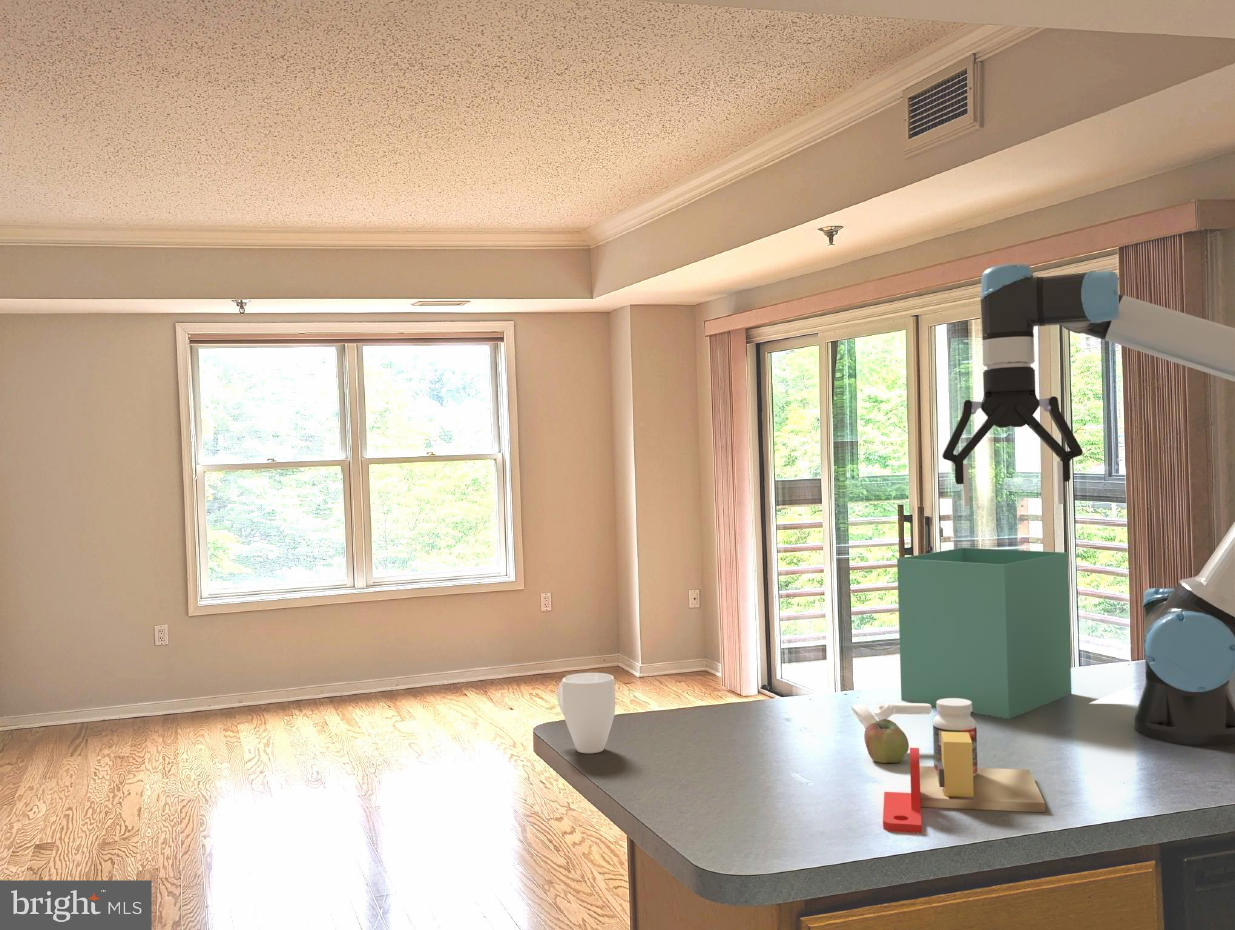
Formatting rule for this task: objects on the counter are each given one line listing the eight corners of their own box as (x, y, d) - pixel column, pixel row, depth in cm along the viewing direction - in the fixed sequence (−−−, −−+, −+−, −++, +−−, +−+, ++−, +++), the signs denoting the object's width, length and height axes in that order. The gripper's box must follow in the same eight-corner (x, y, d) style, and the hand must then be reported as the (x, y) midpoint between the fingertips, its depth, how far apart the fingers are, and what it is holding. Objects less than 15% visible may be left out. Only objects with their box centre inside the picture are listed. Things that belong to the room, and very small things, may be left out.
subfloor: (1029, 778, 148) (1029, 769, 148) (1045, 812, 135) (1044, 802, 135) (916, 774, 152) (916, 765, 152) (921, 806, 138) (920, 797, 138)
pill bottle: (970, 782, 143) (968, 708, 143) (928, 776, 147) (926, 704, 146) (982, 771, 148) (980, 699, 148) (941, 765, 151) (939, 695, 151)
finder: (968, 732, 142) (936, 731, 143) (972, 742, 137) (938, 741, 138) (969, 784, 142) (937, 783, 143) (973, 797, 138) (940, 795, 138)
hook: (935, 756, 160) (934, 709, 160) (852, 754, 163) (851, 707, 162) (930, 742, 168) (929, 698, 167) (852, 740, 170) (851, 696, 170)
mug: (627, 749, 169) (625, 677, 169) (584, 760, 164) (582, 685, 164) (582, 735, 178) (580, 666, 178) (540, 745, 173) (538, 674, 173)
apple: (876, 750, 164) (875, 712, 164) (918, 762, 158) (917, 722, 158) (849, 758, 161) (848, 719, 161) (891, 770, 154) (890, 729, 154)
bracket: (884, 800, 142) (882, 740, 142) (920, 802, 141) (918, 741, 140) (882, 832, 130) (881, 766, 130) (921, 834, 129) (919, 768, 129)
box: (967, 680, 211) (963, 547, 210) (1071, 695, 195) (1067, 552, 195) (901, 701, 195) (897, 558, 195) (1009, 720, 180) (1004, 564, 179)
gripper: (1090, 364, 167) (1094, 501, 167) (923, 372, 172) (927, 504, 173) (1100, 361, 159) (1104, 504, 160) (925, 369, 165) (929, 507, 165)
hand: (1012, 504), depth 166 cm, fingers open, 13 cm apart
